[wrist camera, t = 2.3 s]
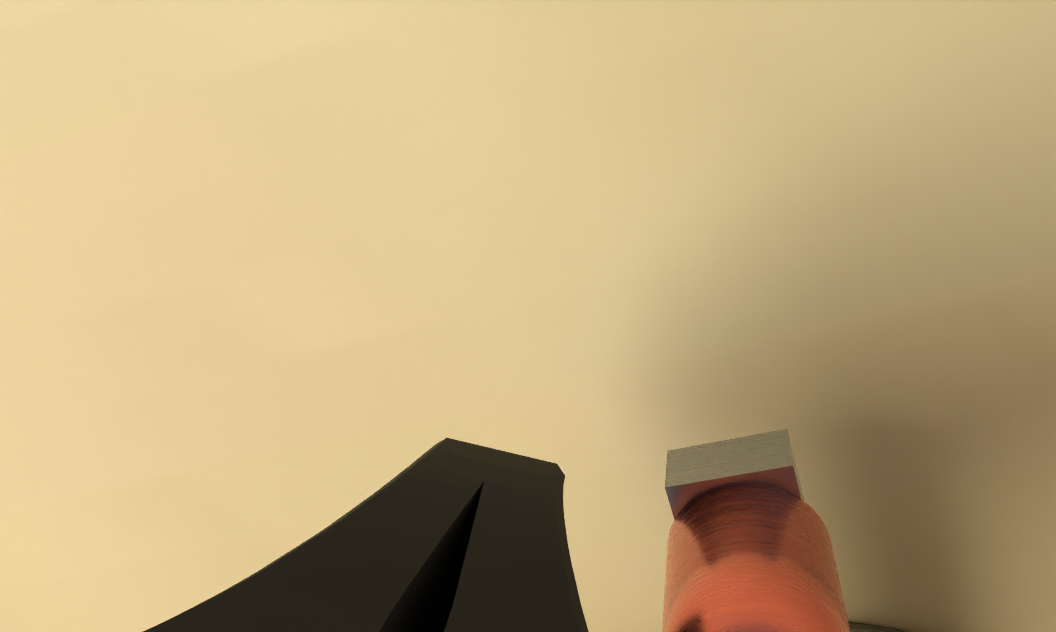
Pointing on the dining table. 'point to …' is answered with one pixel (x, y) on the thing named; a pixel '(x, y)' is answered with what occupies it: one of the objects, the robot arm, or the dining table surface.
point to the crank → (746, 543)
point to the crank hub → (869, 628)
